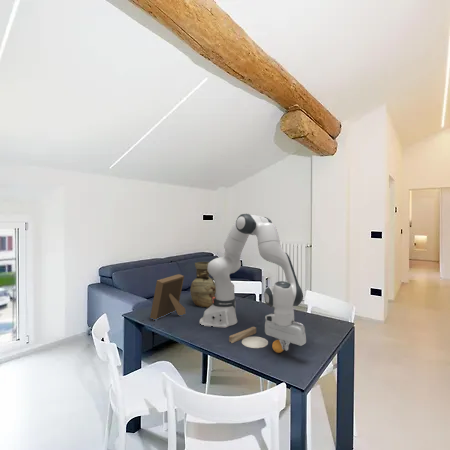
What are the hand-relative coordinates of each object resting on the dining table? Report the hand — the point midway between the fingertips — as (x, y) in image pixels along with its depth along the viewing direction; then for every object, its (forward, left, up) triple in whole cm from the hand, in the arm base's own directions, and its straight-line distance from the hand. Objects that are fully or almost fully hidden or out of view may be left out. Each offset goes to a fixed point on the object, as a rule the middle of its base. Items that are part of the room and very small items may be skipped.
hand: (285, 349), depth 129 cm
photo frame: (-64, +50, -3) cm, 81 cm away
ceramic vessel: (-46, +76, -3) cm, 89 cm away
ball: (-3, +3, 0) cm, 4 cm away
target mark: (-13, +13, -3) cm, 18 cm away
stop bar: (-19, +19, -3) cm, 26 cm away
